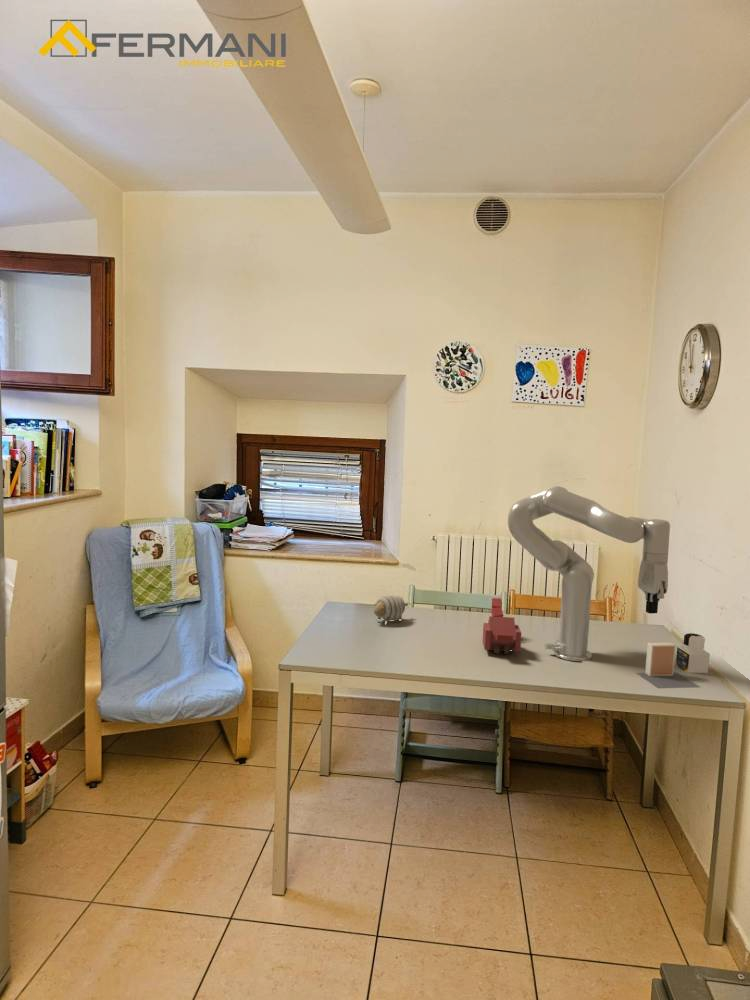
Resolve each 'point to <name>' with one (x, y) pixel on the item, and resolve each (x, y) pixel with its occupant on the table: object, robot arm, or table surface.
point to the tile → (660, 659)
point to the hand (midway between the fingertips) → (651, 612)
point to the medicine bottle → (693, 654)
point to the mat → (669, 681)
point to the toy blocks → (501, 631)
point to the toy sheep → (390, 607)
